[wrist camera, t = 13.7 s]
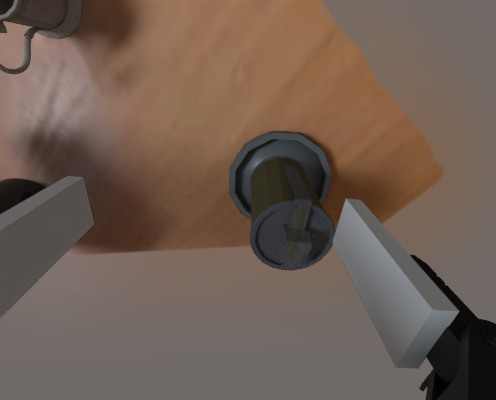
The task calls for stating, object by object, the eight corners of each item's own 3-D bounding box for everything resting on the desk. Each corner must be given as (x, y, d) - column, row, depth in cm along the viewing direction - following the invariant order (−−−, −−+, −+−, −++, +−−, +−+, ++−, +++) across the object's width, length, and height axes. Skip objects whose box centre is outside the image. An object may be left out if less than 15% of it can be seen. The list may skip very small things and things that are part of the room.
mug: (-8, -58, 31) (-141, -125, 20) (71, -50, 31) (-20, -113, 21) (30, 70, 38) (-55, 70, 27) (95, 76, 38) (36, 77, 27)
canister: (298, 210, 48) (327, 290, 30) (246, 203, 48) (244, 281, 30) (313, 157, 43) (357, 216, 25) (254, 149, 43) (258, 203, 25)
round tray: (229, 218, 50) (228, 223, 48) (231, 127, 42) (230, 130, 40) (317, 222, 50) (319, 228, 48) (336, 133, 42) (340, 136, 40)
